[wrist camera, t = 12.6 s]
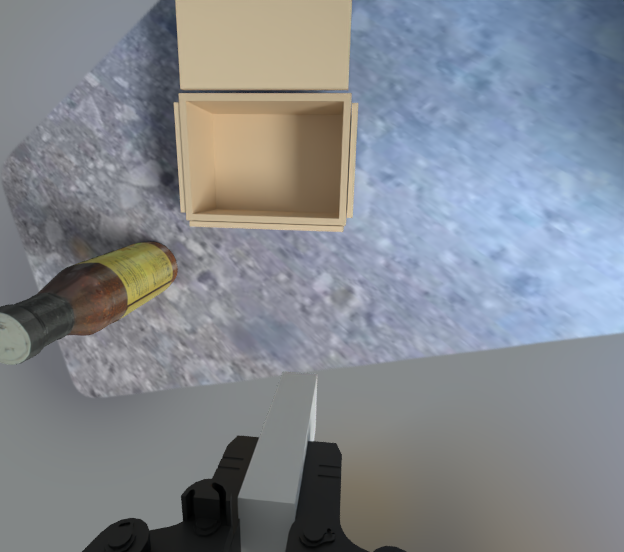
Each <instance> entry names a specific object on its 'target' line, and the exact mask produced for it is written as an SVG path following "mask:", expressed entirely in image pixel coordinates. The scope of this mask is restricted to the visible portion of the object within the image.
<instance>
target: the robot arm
mask: <svg viewBox="0 0 624 552" xmlns="http://www.w3.org/2000/svg"><path fill="white" fill-rule="evenodd" d="M316 397H317V374H310V373H296V372H282V375H281V378H280V381H279V384H278V386H277V389H276V392H275V395H274V398H273V401H272V404H271V406H270V409H269V412H268V414H267V417H266V420H265V423H264V426H263V428H262V431H261V434H260V437H249V436H237V437H236V438H235V439H234V440H233V441H232V442H231V443H230V444H229V445H228V446H227V448H226V450H225V452H224V454H223V458H222V459H221V461H220V463H219V465H218V469H216V472H215V474H214V476H213V478H212V479H204V480H201V481H198V482H195V483H194V484H193V485H191V486H190V487H188V488H187V489H186V491H185V492H184V493H183V494H182V495H181V500H182V513H183V522H181V523H179V524H177V525H173V526H170V527H166V528H160V529H155V530H150V531H149V529H148V526H147V524H146V523H145V522H144V521H142V520H141V519H136V518H128V519H123V520H120V521H118V522H116V523H114V524H111V525H110V526H109V527H107V528H106V529H105V530H104V531H102V532H101V533H100V534H99V535H98V536H97V537H96V538H95V539H94V540H93V541H92V542H91V543H90V544H89V545H88V546H87V547H86V548H85V549H84V550H83V551H82V552H368V551H366V550H364V549H362V548H360V547H358V546H357V545H355V544H353V543H352V542H351V541H350V540H349V539H348V538H347V537H346V535H345V534H344V532H343V530H342V528H341V525H340V491H341V490H340V489H341V460H342V454H341V452H340V450H339V448H338V446H337V444H336V443H326V442H315V441H314V436H315V429H316ZM374 552H406V551H404V550H402V549H399V548H397V547H392V546H384V547H381V548H378V549H376V550H375V551H374Z"/></svg>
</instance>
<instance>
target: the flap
mask: <svg viewBox="0 0 624 552" xmlns="http://www.w3.org/2000/svg"><path fill="white" fill-rule="evenodd" d="M175 2H176V20H177V38H178V55H179V73H180V89H182V90H348V80H349V57H350V34H351V12H352V0H175Z"/></svg>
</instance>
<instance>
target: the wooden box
mask: <svg viewBox="0 0 624 552" xmlns="http://www.w3.org/2000/svg"><path fill="white" fill-rule="evenodd" d="M174 115H175V130H176V145H177V160H178V175H179V190H180V205H181V212H186V219H187V220H192V221H190V226H194V227H221V228H249V229H277V230H305V231H332V232H343V229H344V226H345V225H346V214H347V218H352V217H353V197H354V177H355V157H356V138H357V118H358V103H352V120H351V93H179V102H174ZM350 127H351V141H350ZM349 149H350V163H349ZM348 170H349V184H348ZM347 192H348V206H347Z"/></svg>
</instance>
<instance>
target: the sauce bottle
mask: <svg viewBox="0 0 624 552" xmlns="http://www.w3.org/2000/svg"><path fill="white" fill-rule="evenodd" d="M177 270H178V269H177V264H176V259H175V257H174V255H173V254H172V253H171V251H170V250H169V249H168V248H167V247H165V246H163V245H162V244H160V243H157V242H143V243H136V244H133V245H130V246H127V247H124V248H121V249H119V250H116V251H112V252H109V253H106V254H104V255H102V256H97V257H95V258H92V259H90V260H87V261H83V262H81V263H78V264H75V265H72V266H70V267H67V268H65V269H64V270H62V271H61V272H59V273H58V274H57V275H56V276H55V277H54V278H53V279H52V280H51V281H50V282H49V283H48V284H47V285H46V286H45V287H44V288H43V289H42V290H41V291H40V292H39V293H38V294H36V295H35V296H32V297H31V298H29V299H27V300H24V301H22V302H19V303H16V304H14V305H5V306H1V307H0V362H1V363H4V364H11V365H14V364H20V363H22V362H24V361H26V360H28V359H30V358H32V357H33V356H36V355H37V354H38V353H40V351H41V350H42V349H43V348H44V347H45V346H47V345H49V344H50V343H52V342H54V341H56V340H59V339H61V338H63V337H65V336H66V335H81V336H84V335H91V334H94V333H96V332H98V331H100V330H102V329H103V328H105V327H106V326H108V325H109V324H111V323H114V322H116V321H118V320H119V319H121V318H123V317H124V316H126V315H127V314H129V313H130V312H132V311H133V310H135V309H137V308H138V307H140V306H141V305H143V304H144V303H146V302H148V301H149V300H151V299H152V298H154V297H155V296H157V295H158V294H160V293H162V292H163V291H165V290H166V289H167V288H168V287H169V286H170V285H171V284H172V282H173V281H174V279H175V278H176V276H177V272H178V271H177Z"/></svg>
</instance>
